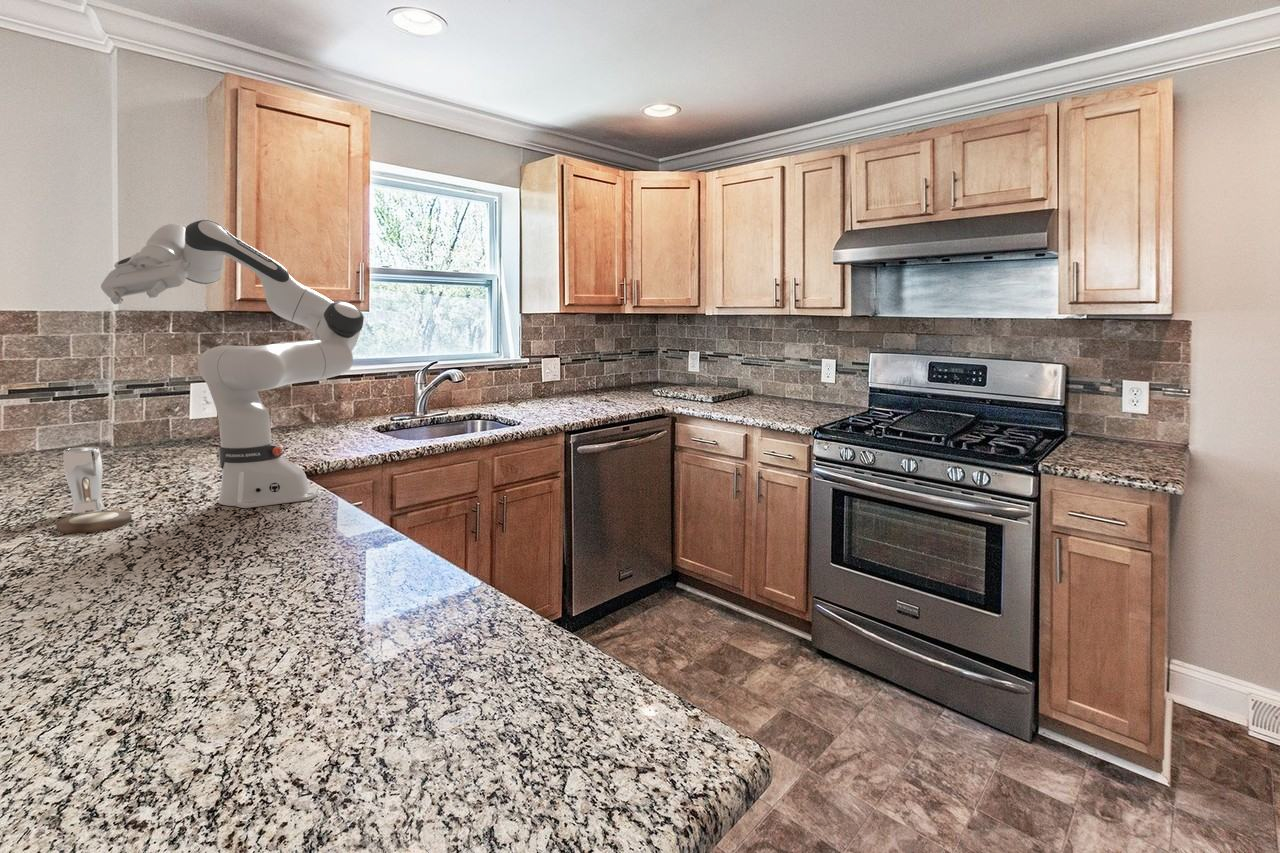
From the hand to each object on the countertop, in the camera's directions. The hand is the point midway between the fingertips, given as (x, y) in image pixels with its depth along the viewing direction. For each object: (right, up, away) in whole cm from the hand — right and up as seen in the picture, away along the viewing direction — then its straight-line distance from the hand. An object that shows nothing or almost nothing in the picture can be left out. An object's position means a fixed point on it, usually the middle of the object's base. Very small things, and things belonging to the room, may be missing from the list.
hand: (133, 298), depth 168 cm
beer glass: (-5, -52, -8) cm, 53 cm away
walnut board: (+6, -54, -19) cm, 57 cm away
